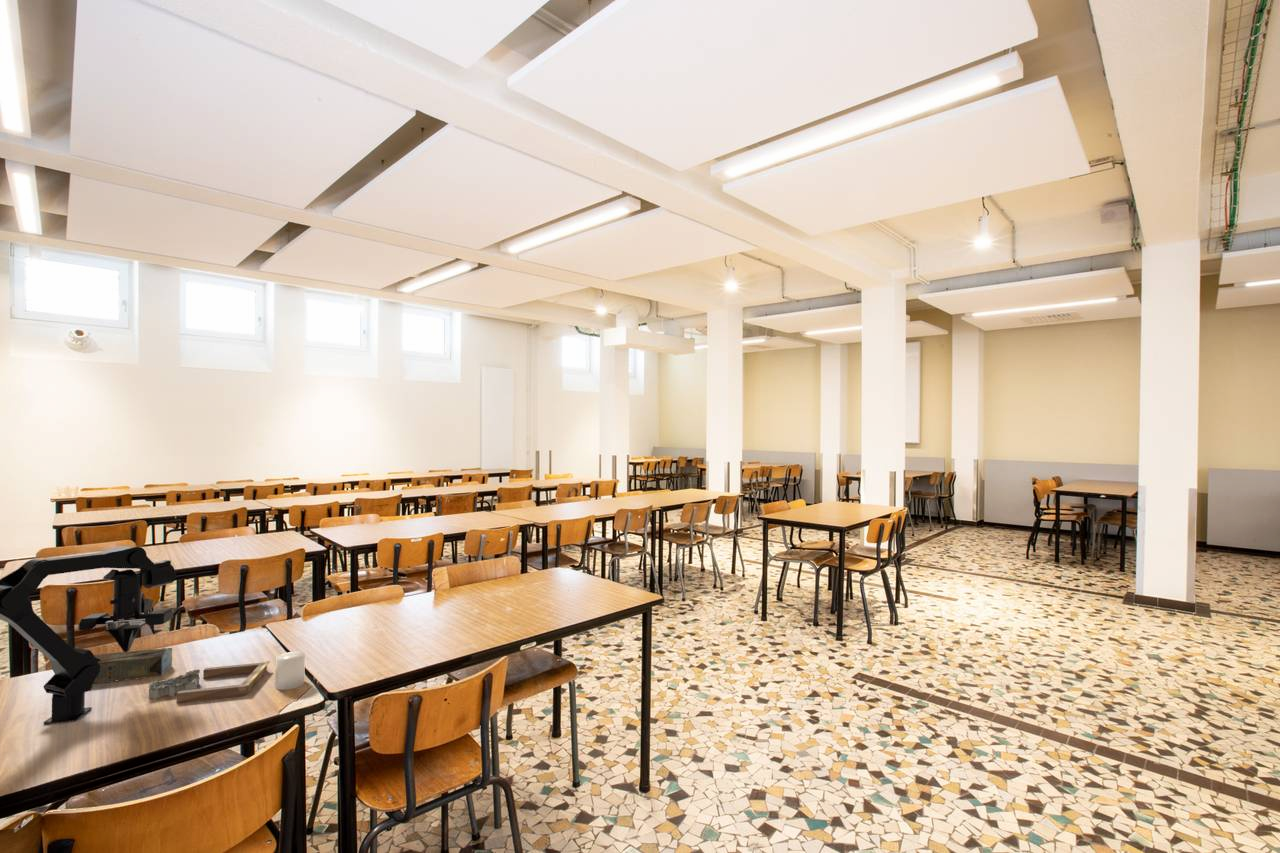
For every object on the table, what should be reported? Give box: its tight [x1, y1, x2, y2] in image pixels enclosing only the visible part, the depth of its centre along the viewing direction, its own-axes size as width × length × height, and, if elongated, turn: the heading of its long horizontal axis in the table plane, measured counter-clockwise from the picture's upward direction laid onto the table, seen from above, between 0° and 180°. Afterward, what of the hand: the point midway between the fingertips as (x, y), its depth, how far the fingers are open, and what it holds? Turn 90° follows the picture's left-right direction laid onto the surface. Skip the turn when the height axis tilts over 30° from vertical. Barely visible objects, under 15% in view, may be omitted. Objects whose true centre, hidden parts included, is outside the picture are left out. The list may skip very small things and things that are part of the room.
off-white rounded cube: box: [274, 650, 306, 691], centre depth 161 cm, size 7×7×8 cm
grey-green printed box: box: [93, 647, 173, 685], centre depth 167 cm, size 8×19×7 cm, turn 112°
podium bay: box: [176, 660, 271, 704], centre depth 160 cm, size 17×16×3 cm
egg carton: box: [148, 668, 201, 700], centre depth 157 cm, size 11×8×4 cm
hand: (126, 651), depth 154 cm, fingers closed
